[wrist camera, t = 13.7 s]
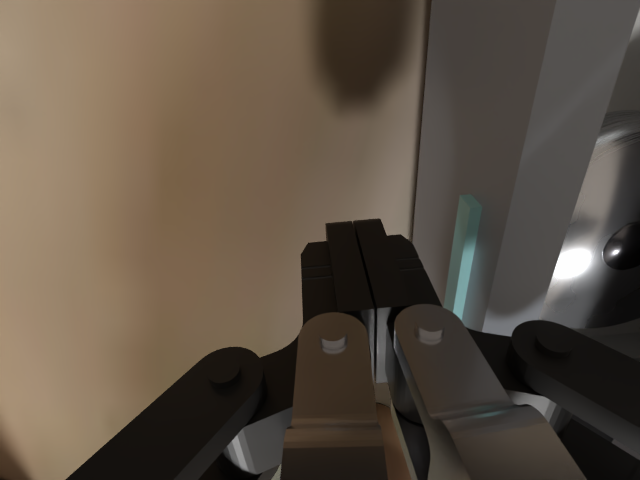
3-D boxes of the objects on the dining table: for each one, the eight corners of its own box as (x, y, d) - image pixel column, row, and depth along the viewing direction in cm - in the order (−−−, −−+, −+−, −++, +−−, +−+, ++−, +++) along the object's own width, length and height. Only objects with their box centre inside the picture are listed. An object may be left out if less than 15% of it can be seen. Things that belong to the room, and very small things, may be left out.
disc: (474, 296, 14) (499, 339, 13) (506, 120, 11) (546, 145, 9) (648, 279, 15) (696, 320, 13) (733, 99, 11) (815, 120, 9)
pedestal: (327, 448, 23) (335, 552, 19) (323, 406, 21) (331, 512, 17) (396, 442, 23) (419, 544, 19) (399, 399, 21) (426, 503, 17)
